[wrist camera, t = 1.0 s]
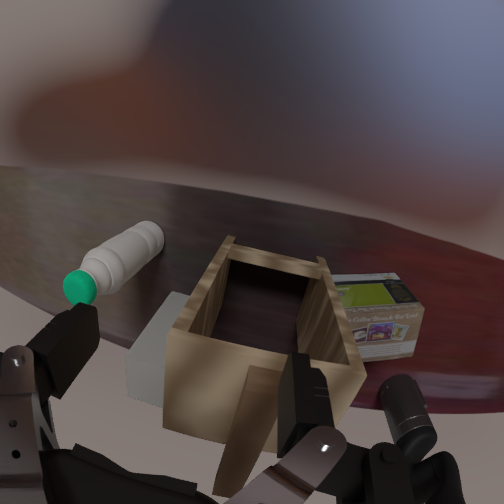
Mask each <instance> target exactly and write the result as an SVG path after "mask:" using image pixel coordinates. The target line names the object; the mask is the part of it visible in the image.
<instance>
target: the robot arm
mask: <svg viewBox="0 0 504 504" xmlns="http://www.w3.org/2000/svg"><path fill="white" fill-rule="evenodd" d="M99 340H100V334H99V324H98V314H97V309H96V307H94V306H91V305H88V304H85V303H82V302H79V303H77V304H76V305H75V306H74V307H73V308H72V309H71V310H70V311H69V310H66V311H64V312H62V313H59V314H57V315H56V316H55V317H54V318H53V319H52V320H51V321H50V323H48V324H47V325H46V326H45V328H43V329H42V330H41V331H40V332H39V333H38V334H37V335H36V336H35V337H34V338H33V339H32V340H31V341H30V342H29V343H28V344H27V345H26V346H21V345H17V346H13V347H10V348H9V349H7V350H6V351H5V352H4V353H2V352H0V504H219V503H217V502H216V501H215V500H213V499H212V498H210V497H209V496H207V495H205V494H203V493H201V492H199V491H197V490H196V489H197V483H193V482H189V481H184V480H180V479H176V478H172V477H169V476H165V475H151V474H140V473H132V472H129V471H127V470H125V469H124V468H122V467H121V466H119V465H117V464H116V463H114V462H113V461H111V460H110V459H108V458H107V457H105V456H104V455H102V454H100V453H97V452H95V451H92V450H90V449H87V448H85V447H83V446H81V445H79V444H77V443H76V444H75V446H74V447H73V449H72V450H70V449H60V448H59V445H58V442H57V439H56V434H55V429H54V423H53V418H52V411H51V404H50V401H49V397H50V396H51V395H52V396H54V397H56V398H58V399H61V398H62V396H63V395H64V394H65V392H66V391H67V389H68V388H69V386H70V385H71V383H72V382H73V381H74V379H75V378H76V377H77V375H78V374H79V372H80V371H81V370H82V368H83V367H84V366H85V364H86V363H87V361H88V360H89V359H90V357H91V356H92V355H93V353H94V352H95V351H96V349H97V347H98V345H99ZM379 396H380V400H381V403H382V406H383V409H384V412H385V415H386V418H387V421H388V425H389V428H390V432H391V435H392V438H393V441H394V444H391V443H387V442H381V443H378V444H376V445H374V446H373V447H372V448H371V449H367V448H364V447H360V446H356V445H353V444H350V443H348V442H347V441H346V438H345V437H344V435H343V434H342V433H341V432H340V431H339V430H337V429H335V425H334V419H333V413H332V407H331V402H330V398H329V391H328V385H327V380H326V377H325V375H324V374H323V373H322V371H321V370H320V368H314V367H311V363H310V356H309V354H305V353H298V352H291V351H290V352H289V354H288V357H287V360H286V363H285V366H284V369H283V372H282V375H281V377H280V381H279V385H278V416H277V458H282V459H281V460H280V461H279V462H278V463H277V464H275V465H274V466H270V467H268V468H267V469H265V470H264V471H263V472H262V473H261V474H260V475H258V476H257V477H256V478H255V479H254V480H252V481H251V482H250V483H249V484H248V485H246V486H245V487H244V488H243V489H242V490H240V491H239V492H238V493H237V494H235V495H234V496H233V497H231V498H230V499H229V500H228V501H226V502H225V503H224V504H303V503H304V502H305V501H306V499H308V497H309V496H310V495H311V494H312V492H313V491H314V490H316V491H319V492H322V493H326V494H329V495H333V496H336V501H337V502H336V503H337V504H424V503H425V504H466V503H465V501H464V497H463V494H462V487H461V480H460V474H459V469H458V465H457V463H456V461H455V459H454V457H453V456H452V455H451V454H450V453H448V452H446V451H442V452H439V453H436V454H434V455H432V456H431V457H429V458H427V459H425V460H423V461H421V460H422V459H423V458H424V456H425V455H426V454H427V453H428V452H429V451H430V450H431V449H432V448H433V447H434V445H435V444H436V441H437V434H436V431H435V429H434V427H433V424H432V422H431V420H430V418H429V415H428V413H427V411H426V408H427V403H426V401H425V399H424V397H423V395H422V393H421V391H420V389H419V386H418V384H417V382H416V380H412V378H411V377H410V376H408V375H397V376H394V377H392V378H390V379H388V380H387V381H385V382H384V383H383V385H382V386H381V387H380V389H379Z"/></svg>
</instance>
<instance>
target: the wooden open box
mask: <svg viewBox="0 0 504 504" xmlns="http://www.w3.org/2000/svg"><path fill="white" fill-rule="evenodd" d="M235 238H236V237H233V236H228V235H227V237H226V239H225V240H224V242H223V243H222V245H221V247H220V248H219V250H218V252H217V253H216V255H215V256H214V258H213V260H212V261H211V263H210V264H209V266H208V268H207V269H206V271H205V273H204V274H203V276H202V278H201V279H200V281H199V282H198V284H197V286H196V287H195V289H194V291H193V292H192V294H191V296H190V297H189V299H188V301H187V302H186V304H185V306H184V307H183V309H182V311H181V312H180V314H179V316H178V317H177V319H176V321H175V322H174V324H173V326H172V327H171V329H170V331H169V333H168V334H167V345H166V359H165V376H164V397H163V428H165V429H169V430H172V431H176V432H179V433H182V434H186V435H190V436H193V437H197V438H201V439H205V440H209V441H213V442H217V443H222V444H226V442H227V439H228V436H229V433H230V430H231V426H232V423H233V420H234V416H235V413H236V410H237V406H238V403H239V400H240V396H241V393H242V390H243V386H244V383H245V379H246V376H247V372H248V369H249V365H253V366H257V367H262V368H267V369H272V370H277V371H282V372H283V369H284V366H285V363H286V360H287V357H288V355H285V354H280V353H275V352H270V351H265V350H260V349H256V348H251V347H247V346H242V345H238V344H234V343H230V342H225V341H221V340H217V339H213V338H210V335H211V333H212V330H213V327H214V325H215V322H216V319H217V317H218V314H219V311H220V309H221V306H222V303H223V298H224V292H225V287H226V282H227V277H228V272H229V267H230V263H231V259H233V260H237V261H242V262H246V263H250V264H254V265H259V266H263V267H267V268H272V269H276V270H280V271H285V272H289V273H293V274H298V275H302V276H306V277H310V279H309V282H308V286H307V289H306V292H305V295H304V298H303V301H302V304H301V307H300V311H299V314H298V317H297V320H296V327H297V341H298V353H305V354H309V356H310V363H311V367H314V368H320V370H321V371H322V373H323V374H324V375H325V377H326V380H327V385H328V391H329V398H330V402H331V407H332V413H333V419H334V425H335V428H336V426H337V425H338V423H339V422H340V420H341V419H342V417H343V416H344V414H345V412H346V411H347V409H348V408H349V406H350V404H351V403H352V401H353V399H354V398H355V396H356V394H357V393H358V391H359V389H360V387H361V386H362V384H363V382H364V380H365V378H366V377H367V374H366V371H365V368H364V365H363V362H362V359H361V356H360V353H359V350H358V347H357V344H356V341H355V338H354V336H353V333H352V330H351V327H350V324H349V322H348V319H347V316H346V313H345V311H344V308H343V305H342V302H341V300H340V297H339V294H338V292H337V289H336V287H335V284H334V281H333V279H332V276H331V274H330V271H329V269H328V266H327V264H326V261H325V259H324V258H322V257H318V256H316V259H315V263H313V262H309V261H305V260H301V259H296V258H292V257H288V256H284V255H279V254H275V253H271V252H266V251H262V250H258V249H254V248H249V247H245V246H241V245H236V244H234V243H235ZM262 451H265V452H271V453H277V419H276V421H275V423H274V425H273V428H272V430H271V432H270V434H269V436H268V438H267V440H266V442H265V445H264V447H263V449H262Z"/></svg>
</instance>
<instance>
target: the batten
mask: <svg viewBox="0 0 504 504" xmlns="http://www.w3.org/2000/svg"><path fill="white" fill-rule="evenodd" d="M281 375H282V371H277V370H272V369H267V368H262V367H257V366H253V365H249V369H248V372H247V376H246V379H245V383H244V386H243V390H242V393H241V396H240V400H239V403H238V406H237V410H236V413H235V416H234V420H233V423H232V426H231V430H230V433H229V436H228V439H227V442H226V446H225V449H224V452H223V455H222V458H221V462H220V465H219V468H218V471H217V474H216V478H215V483H214V487H213V492H212V495H217V496H222V497H227V498H231V497H233V496H234V495H235V494H237V493H238V492H239V491H240V490H242V488H243V486H244V484H245V482H246V480H247V479H248V477H249V475H250V473H251V471H252V469H253V467H254V465H255V463H256V461H257V459H258V457H259V455H260V453H261V451H262V449H263V447H264V445H265V442H266V440H267V438H268V436H269V434H270V432H271V430H272V428H273V425H274V423H275V421H276V419H277V416H278V385H279V381H280V377H281Z"/></svg>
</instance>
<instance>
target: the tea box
mask: <svg viewBox="0 0 504 504" xmlns="http://www.w3.org/2000/svg"><path fill="white" fill-rule="evenodd" d="M331 276H332V279H333V281H334V284H335V287H336V289H337V292H338V294H339V297H340V300H341V302H342V305H343V308H344V311H345V313H346V316H347V319H348V322H349V324H350V327H351V330H352V333H353V336H354V338H355V341H356V344H357V347H358V350H359V353H360V356H361V359H362V362H370V361H380V360H389V359H397V358H403V357H412V356H413V352H414V349H415V345H416V341H417V338H418V334H419V330H420V326H421V322H422V317H423V313H424V309H425V308H424V307H423V306H422V305H421V304H420V302H419V301H418V300H417V298H416V297H415V296H414V295H413V294H412V292H411V291H410V290H409V289H408V288H407V287H406V285H405V284H404V283H403V282H402V281H401V280H400V278H399V277H398V276H397V275H396V274H395V273H383V274H351V275H331Z"/></svg>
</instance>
